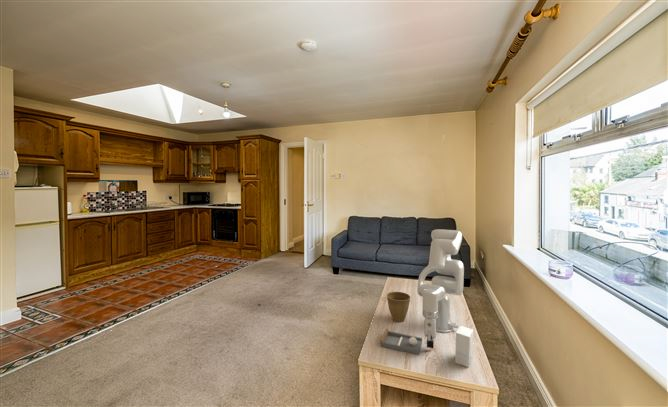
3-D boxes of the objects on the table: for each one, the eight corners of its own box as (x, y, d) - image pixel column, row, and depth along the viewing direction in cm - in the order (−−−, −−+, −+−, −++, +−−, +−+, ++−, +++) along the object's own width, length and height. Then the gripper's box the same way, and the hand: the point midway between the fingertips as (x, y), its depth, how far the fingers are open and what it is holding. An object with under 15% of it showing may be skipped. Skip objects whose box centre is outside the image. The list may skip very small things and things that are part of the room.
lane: (422, 341, 150) (422, 335, 150) (419, 355, 138) (419, 348, 138) (386, 334, 158) (386, 328, 158) (380, 346, 147) (380, 339, 146)
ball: (417, 343, 147) (417, 336, 147) (416, 347, 143) (416, 340, 143) (409, 341, 148) (409, 334, 148) (408, 345, 145) (408, 338, 145)
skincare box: (459, 354, 138) (459, 325, 137) (473, 359, 134) (474, 329, 133) (454, 362, 132) (454, 331, 131) (469, 368, 127) (469, 336, 127)
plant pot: (411, 326, 167) (411, 301, 166) (386, 324, 170) (386, 299, 169) (409, 315, 182) (409, 292, 181) (387, 313, 185) (386, 290, 184)
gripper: (436, 320, 133) (436, 356, 134) (438, 308, 146) (438, 341, 147) (421, 318, 136) (421, 353, 137) (424, 306, 149) (424, 338, 150)
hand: (430, 347), depth 142 cm, fingers closed
